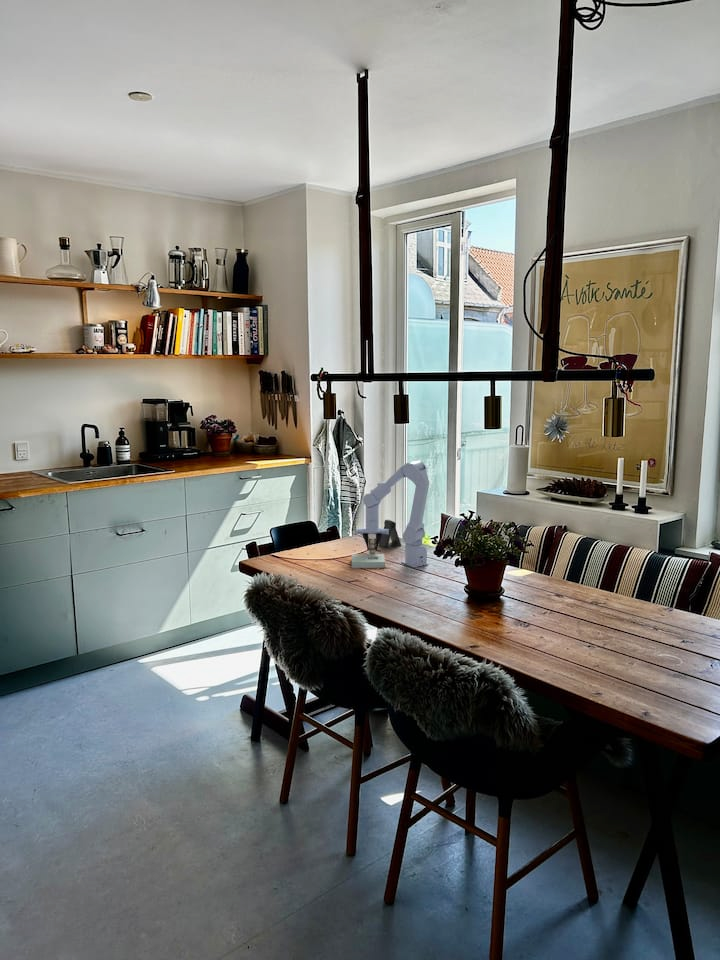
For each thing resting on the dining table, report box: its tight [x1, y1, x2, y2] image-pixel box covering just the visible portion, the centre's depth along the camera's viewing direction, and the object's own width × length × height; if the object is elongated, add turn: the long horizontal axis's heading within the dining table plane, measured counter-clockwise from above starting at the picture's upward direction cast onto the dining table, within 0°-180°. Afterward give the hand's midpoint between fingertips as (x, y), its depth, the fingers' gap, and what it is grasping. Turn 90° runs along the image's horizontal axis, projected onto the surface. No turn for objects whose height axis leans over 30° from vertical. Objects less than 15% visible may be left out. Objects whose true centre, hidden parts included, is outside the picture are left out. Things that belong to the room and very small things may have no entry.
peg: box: [368, 537, 376, 554], centre depth 310 cm, size 3×3×7 cm
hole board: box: [351, 553, 386, 569], centre depth 300 cm, size 14×12×2 cm
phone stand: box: [378, 519, 402, 549], centre depth 329 cm, size 9×6×12 cm, turn 116°
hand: (372, 549), depth 310 cm, fingers closed on peg, 3 cm apart
